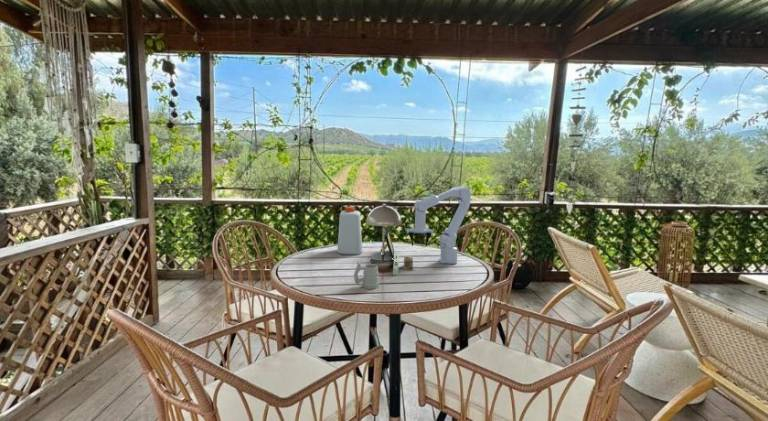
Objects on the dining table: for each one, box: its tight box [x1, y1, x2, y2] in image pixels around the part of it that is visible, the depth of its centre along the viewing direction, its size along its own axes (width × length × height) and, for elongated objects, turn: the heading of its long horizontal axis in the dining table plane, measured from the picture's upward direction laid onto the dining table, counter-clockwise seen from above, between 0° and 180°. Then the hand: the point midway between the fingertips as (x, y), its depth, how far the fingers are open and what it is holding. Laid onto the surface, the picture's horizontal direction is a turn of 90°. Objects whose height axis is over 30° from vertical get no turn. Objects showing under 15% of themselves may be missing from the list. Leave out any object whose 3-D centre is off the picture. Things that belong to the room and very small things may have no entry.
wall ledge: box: [392, 254, 400, 276], centre depth 205 cm, size 2×26×5 cm, turn 177°
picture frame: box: [379, 227, 395, 259], centre depth 227 cm, size 23×9×15 cm, turn 179°
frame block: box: [403, 256, 414, 271], centre depth 205 cm, size 5×8×5 cm, turn 177°
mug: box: [353, 261, 380, 290], centre depth 175 cm, size 8×12×12 cm, turn 99°
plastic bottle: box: [337, 206, 363, 256], centre depth 232 cm, size 15×15×28 cm
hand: (419, 245), depth 211 cm, fingers open, 7 cm apart
